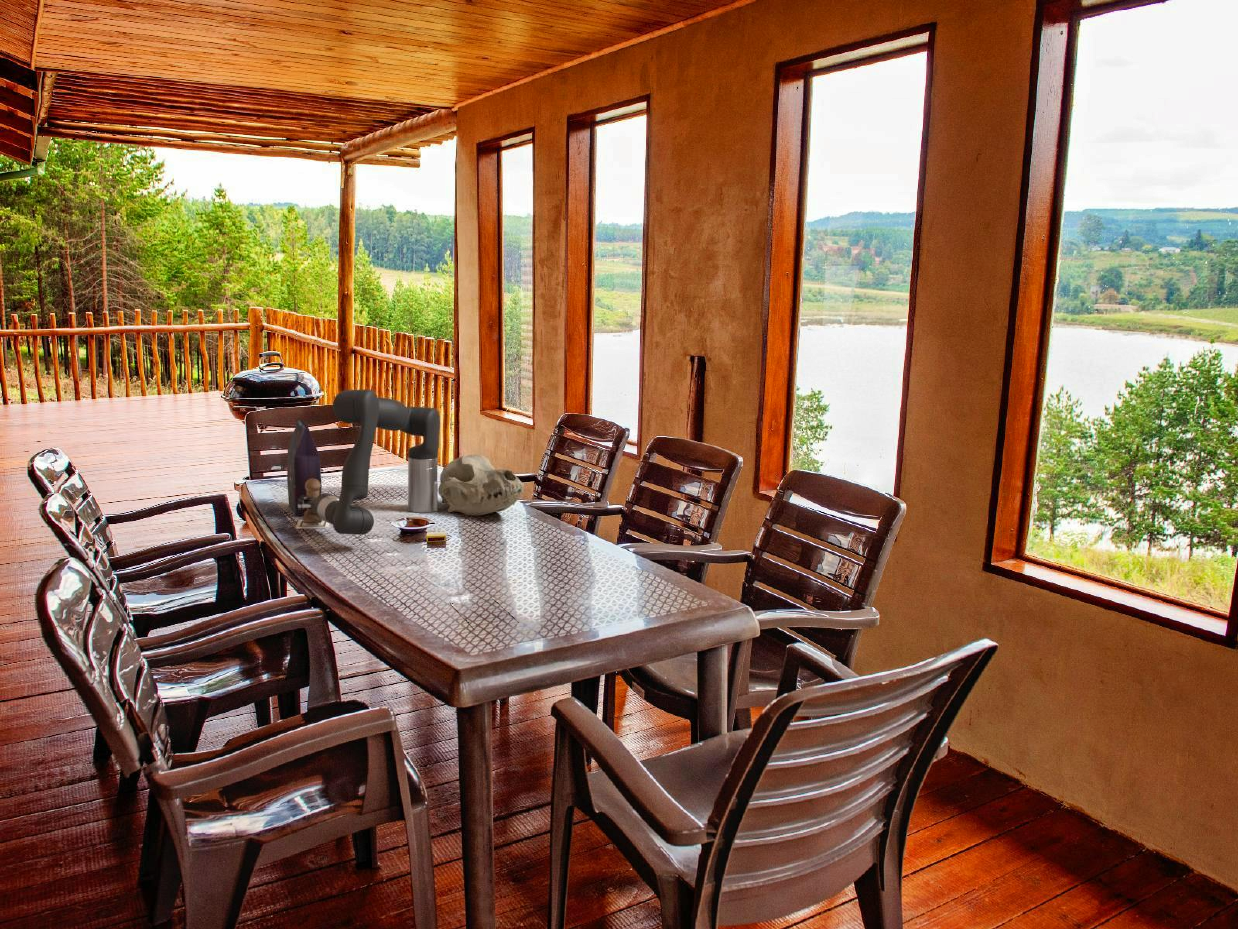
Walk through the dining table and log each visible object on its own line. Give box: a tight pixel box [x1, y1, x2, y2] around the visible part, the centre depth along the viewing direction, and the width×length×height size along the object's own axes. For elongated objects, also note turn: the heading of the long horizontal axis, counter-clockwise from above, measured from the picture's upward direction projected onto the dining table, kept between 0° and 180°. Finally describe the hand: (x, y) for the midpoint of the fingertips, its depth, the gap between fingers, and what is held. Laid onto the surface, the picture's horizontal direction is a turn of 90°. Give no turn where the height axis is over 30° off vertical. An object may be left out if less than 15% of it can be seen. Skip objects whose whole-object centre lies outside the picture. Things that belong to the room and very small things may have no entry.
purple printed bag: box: [286, 419, 323, 518], centre depth 292 cm, size 8×16×28 cm, turn 27°
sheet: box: [295, 520, 330, 530], centre depth 278 cm, size 9×8×1 cm
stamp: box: [303, 478, 322, 523], centre depth 276 cm, size 5×5×13 cm
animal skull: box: [438, 453, 525, 517], centre depth 301 cm, size 22×35×22 cm, turn 52°
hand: (309, 497), depth 278 cm, fingers closed on stamp, 3 cm apart
